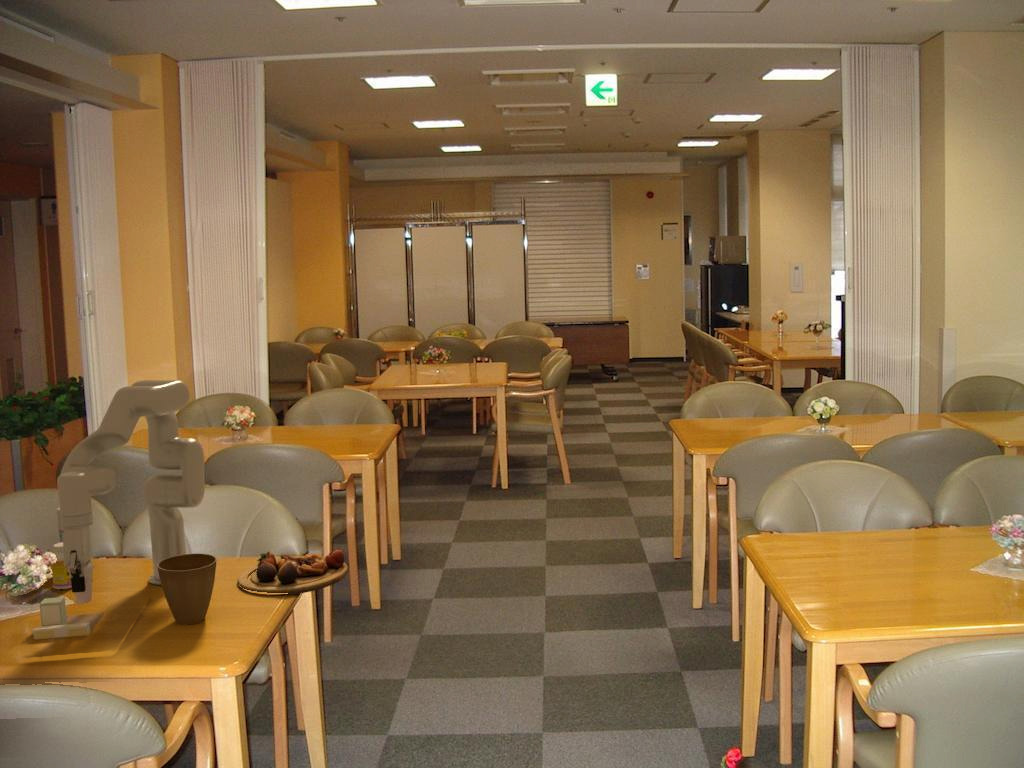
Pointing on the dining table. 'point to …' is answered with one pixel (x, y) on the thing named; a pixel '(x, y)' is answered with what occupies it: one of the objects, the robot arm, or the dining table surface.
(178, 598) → the plant pot
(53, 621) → the tea box
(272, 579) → the wooden plate with food
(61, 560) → the supplement bottle
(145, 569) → the dining table surface
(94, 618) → the shelf board
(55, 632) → the rail
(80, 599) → the smoothie
